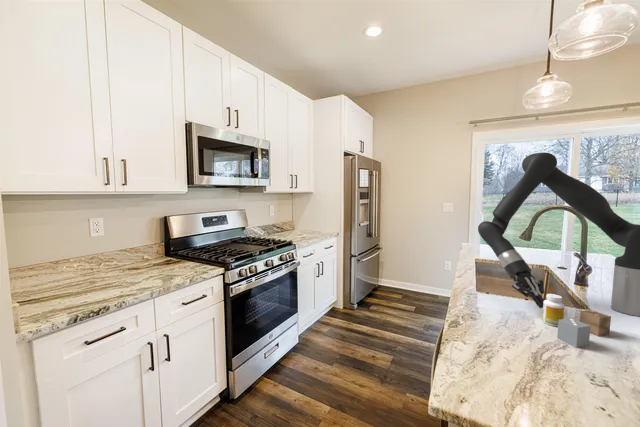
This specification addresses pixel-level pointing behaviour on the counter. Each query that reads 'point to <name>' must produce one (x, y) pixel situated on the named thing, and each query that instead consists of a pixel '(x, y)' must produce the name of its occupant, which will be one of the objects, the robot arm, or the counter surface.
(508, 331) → the counter surface
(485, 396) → the counter surface
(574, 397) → the counter surface
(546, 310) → the supplement bottle
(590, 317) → the walnut two pip block
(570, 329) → the slate three pip block
